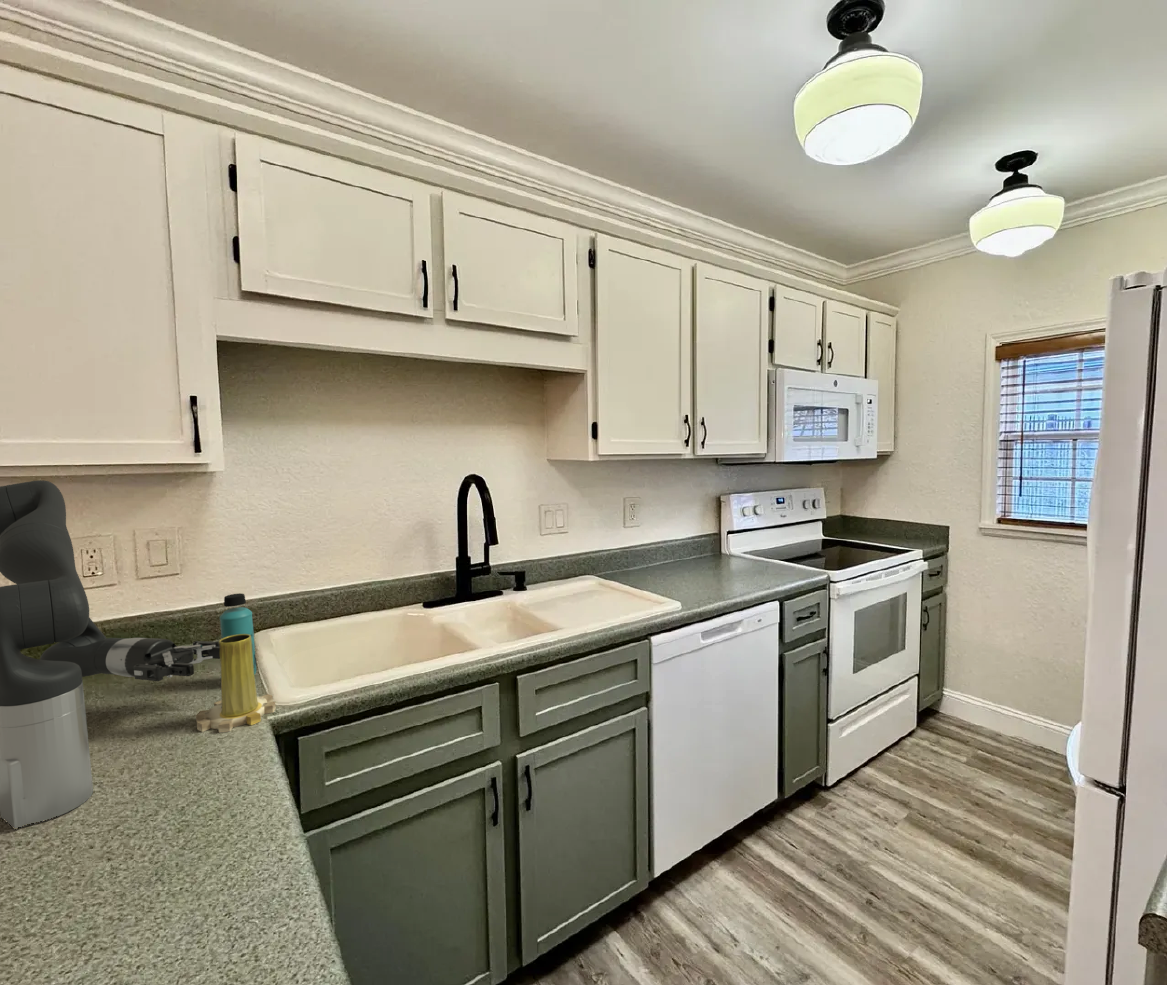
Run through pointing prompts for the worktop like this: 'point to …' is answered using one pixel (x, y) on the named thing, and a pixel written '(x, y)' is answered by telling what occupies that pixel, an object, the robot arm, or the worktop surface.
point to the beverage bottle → (237, 620)
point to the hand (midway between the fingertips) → (211, 661)
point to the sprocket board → (225, 724)
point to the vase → (237, 676)
